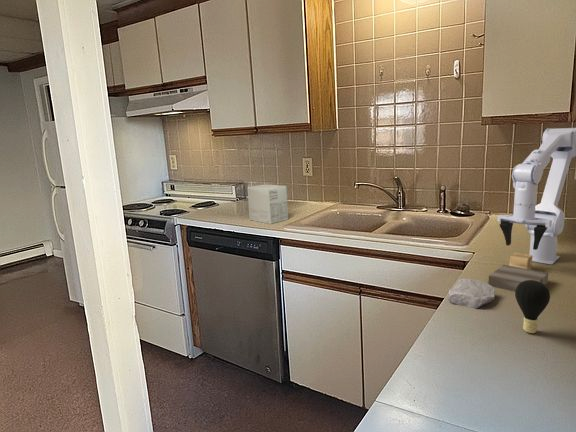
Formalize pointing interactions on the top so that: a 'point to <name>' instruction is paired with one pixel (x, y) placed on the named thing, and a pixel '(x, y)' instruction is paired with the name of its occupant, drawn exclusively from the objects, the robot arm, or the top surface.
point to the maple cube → (521, 261)
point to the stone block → (471, 293)
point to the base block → (515, 277)
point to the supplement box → (268, 203)
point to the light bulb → (532, 302)
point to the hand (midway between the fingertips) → (521, 246)
